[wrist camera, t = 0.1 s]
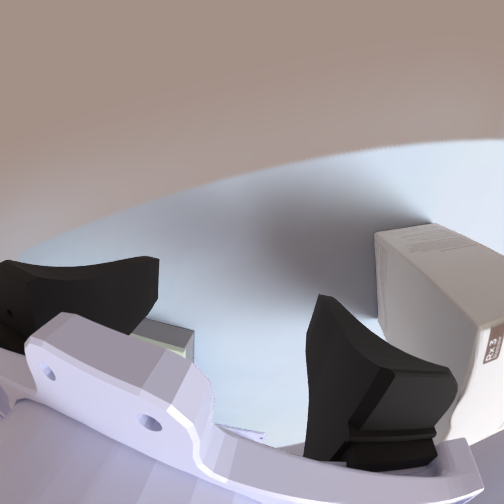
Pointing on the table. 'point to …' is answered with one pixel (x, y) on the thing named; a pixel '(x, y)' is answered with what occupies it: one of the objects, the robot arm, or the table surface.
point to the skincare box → (447, 318)
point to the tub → (167, 335)
